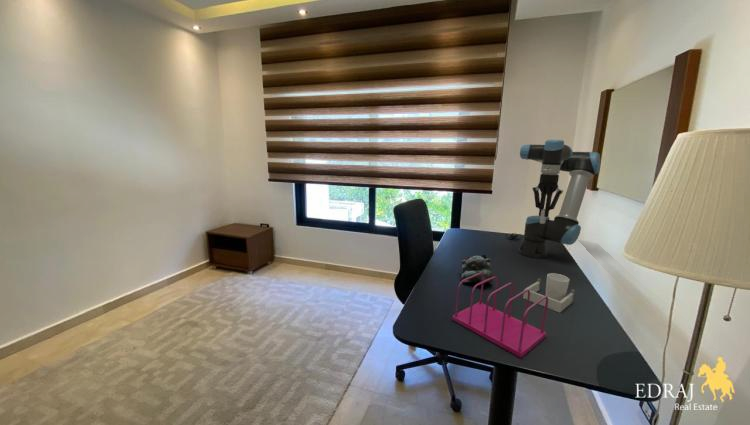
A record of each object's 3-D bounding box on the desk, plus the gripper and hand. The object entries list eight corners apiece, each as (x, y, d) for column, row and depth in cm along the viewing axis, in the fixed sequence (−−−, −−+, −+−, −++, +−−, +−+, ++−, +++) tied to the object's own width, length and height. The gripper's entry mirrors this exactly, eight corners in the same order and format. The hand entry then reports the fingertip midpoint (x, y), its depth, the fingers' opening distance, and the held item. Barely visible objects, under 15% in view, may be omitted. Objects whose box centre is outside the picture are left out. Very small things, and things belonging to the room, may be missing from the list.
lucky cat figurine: (455, 282, 136) (455, 252, 140) (466, 284, 145) (466, 256, 149) (488, 283, 127) (487, 250, 131) (498, 285, 136) (496, 255, 140)
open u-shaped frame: (537, 289, 132) (538, 278, 131) (572, 302, 122) (574, 290, 120) (522, 298, 124) (524, 286, 123) (559, 312, 113) (562, 300, 112)
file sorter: (520, 359, 88) (527, 311, 84) (451, 320, 107) (455, 279, 103) (545, 337, 98) (553, 294, 95) (479, 305, 117) (483, 268, 114)
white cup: (569, 302, 121) (574, 279, 119) (556, 306, 118) (560, 283, 116) (551, 293, 128) (555, 272, 126) (539, 296, 125) (542, 274, 123)
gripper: (531, 173, 140) (525, 221, 145) (562, 175, 130) (553, 227, 135) (538, 172, 145) (531, 219, 150) (568, 174, 135) (560, 224, 140)
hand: (542, 223), depth 143 cm, fingers closed
